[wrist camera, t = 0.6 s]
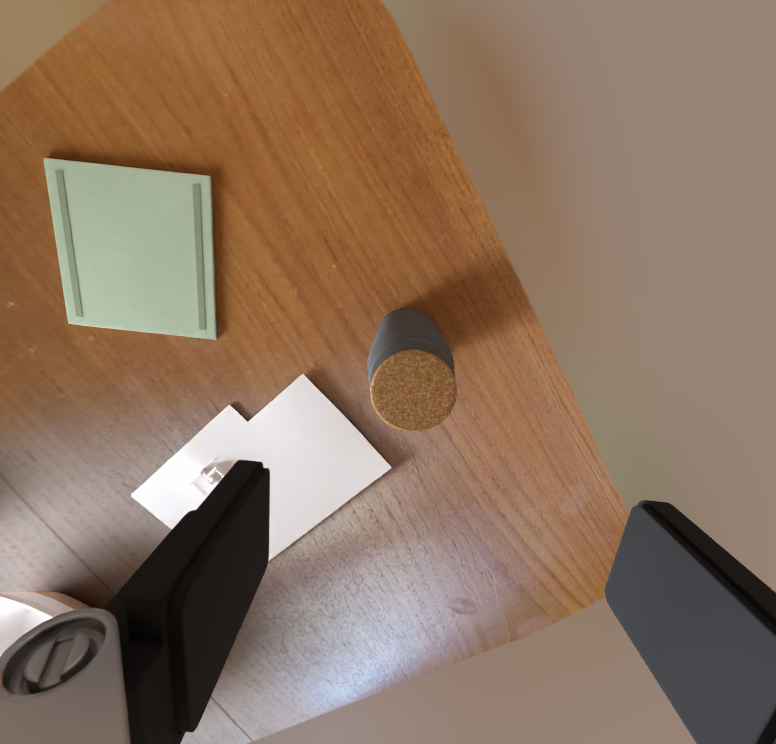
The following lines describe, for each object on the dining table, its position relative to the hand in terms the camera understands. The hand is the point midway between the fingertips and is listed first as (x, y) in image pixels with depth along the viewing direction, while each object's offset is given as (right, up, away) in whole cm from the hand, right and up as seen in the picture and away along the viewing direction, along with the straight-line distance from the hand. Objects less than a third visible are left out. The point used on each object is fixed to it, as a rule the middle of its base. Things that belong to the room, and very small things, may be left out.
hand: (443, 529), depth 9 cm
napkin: (-24, +15, +23) cm, 36 cm away
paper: (-15, -8, +29) cm, 34 cm away
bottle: (0, +7, +25) cm, 26 cm away
